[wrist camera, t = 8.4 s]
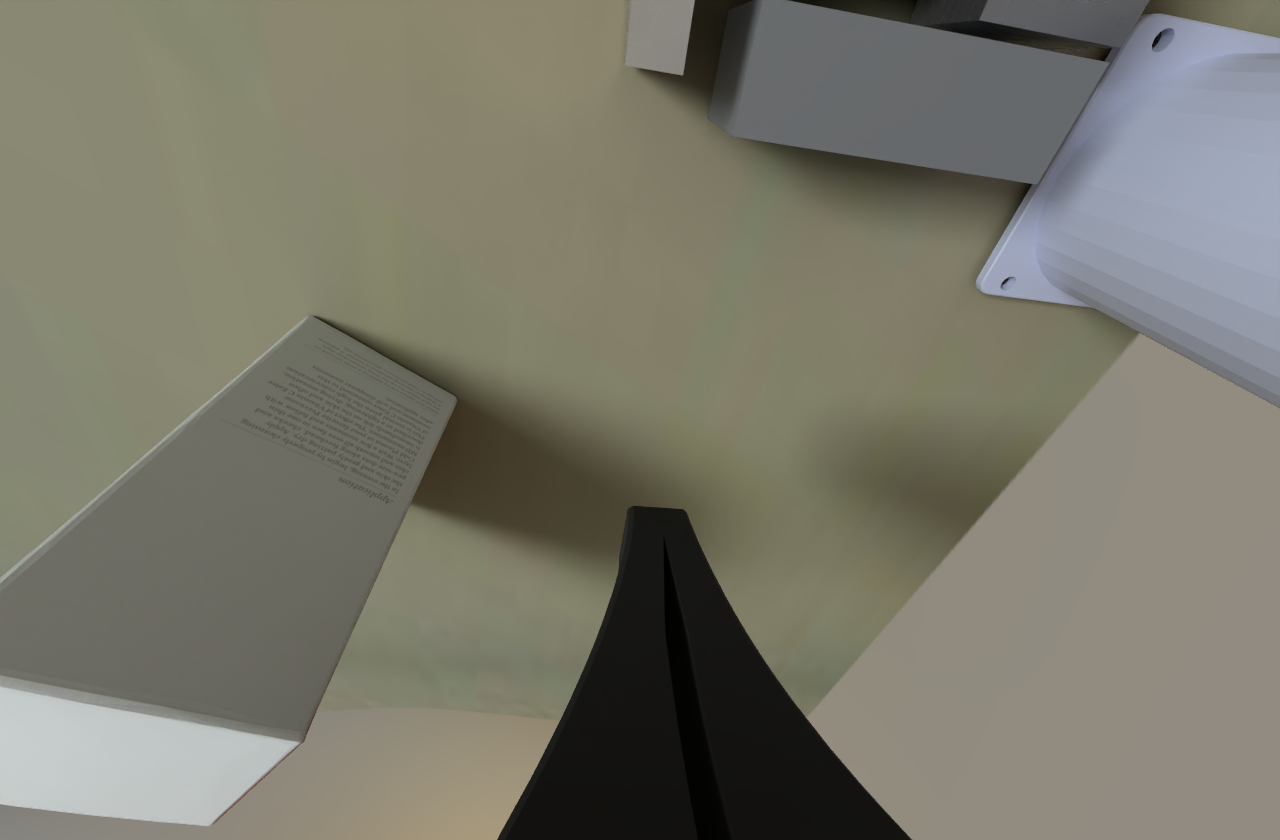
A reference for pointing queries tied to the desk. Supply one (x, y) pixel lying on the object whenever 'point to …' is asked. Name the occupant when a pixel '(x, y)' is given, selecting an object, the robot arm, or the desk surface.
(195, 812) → the small box
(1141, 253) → the robot arm
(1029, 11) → the plunger
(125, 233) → the desk surface
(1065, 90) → the gauge housing
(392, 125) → the desk surface
